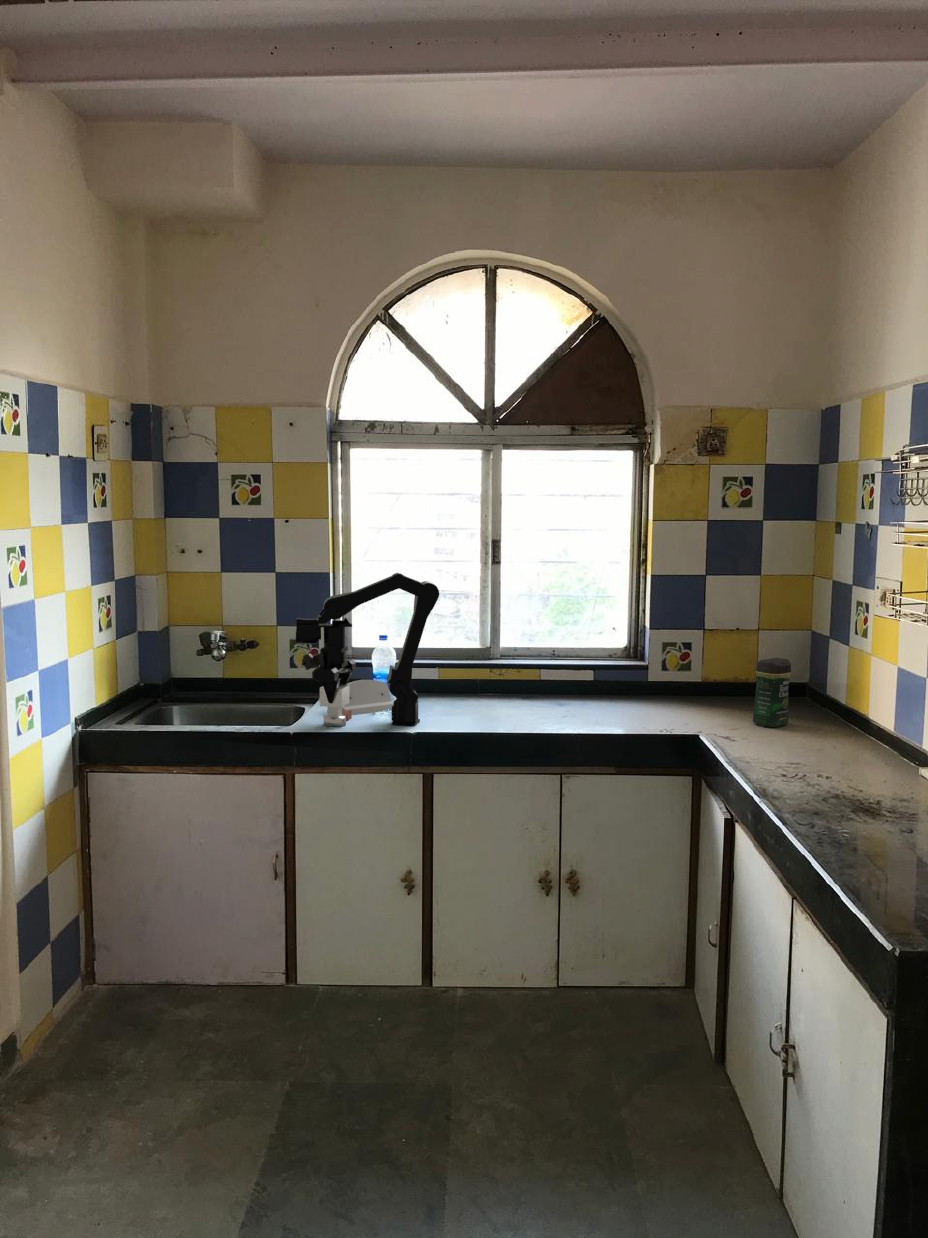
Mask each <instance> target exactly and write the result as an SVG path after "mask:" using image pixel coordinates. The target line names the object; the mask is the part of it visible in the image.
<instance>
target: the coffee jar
mask: <svg viewBox="0 0 928 1238" xmlns="http://www.w3.org/2000/svg"><path fill="white" fill-rule="evenodd" d="M791 675H792V662H790V660H789V659H786V658H779V657H772V658H771V657H770V658H766V659H760V660H759V661H757V663H756V667H755V676H756V689H755V698H754V705H753V706H754V707H753V715H752V723H753V724H755V725H757V726H759V727H771V728H777V727H779V728H780V727H782V726H783V727H784V726H786V725H787V724H788V723H789V688H790V687H789V685H790V679H791Z"/></svg>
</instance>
